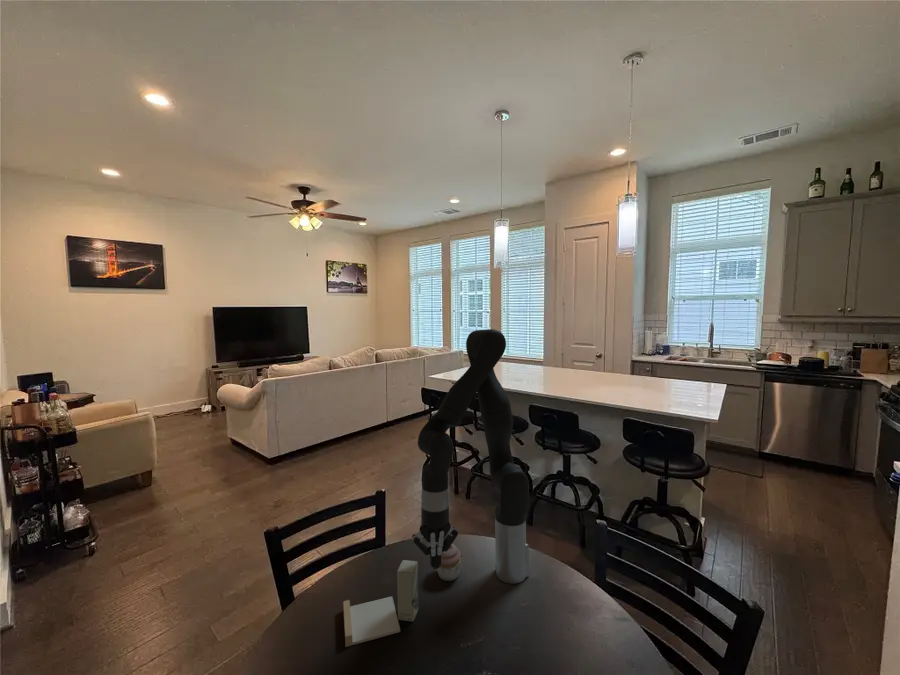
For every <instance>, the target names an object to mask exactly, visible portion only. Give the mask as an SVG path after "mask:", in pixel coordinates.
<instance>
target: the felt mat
mask: <svg viewBox="0 0 900 675" xmlns="http://www.w3.org/2000/svg"><path fill="white" fill-rule="evenodd" d="M342 603H343V605H342V606H343V626H344V641H345V648H348V647H351V646H353V645H354V646H355V645H359V644H362V643H365V642H368V641H372V640H376V639H380V638H383V637H387V636H391V635H394V634H397V633H401V627H400V622H399V620H398V613H397V610H396V606H395V602H394V598H393V595H392V596H387V597H384V598H380V599H375V600H371V601H367V602H364V603H363V602H362V603H359V604H355V605H351V601H350V599H347V600H344V601H342Z"/></svg>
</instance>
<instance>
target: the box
mask: <svg viewBox="0 0 900 675" xmlns="http://www.w3.org/2000/svg"><path fill="white" fill-rule="evenodd" d="M418 563H419V562H418V561H417V560H416V561H415V560H407V559H405V560H404V559H403V560H402V561H401V562H400V565H399V567H398V568H397V571H396V582H397V583H396V588H397V593H396V594H397V595H396V596H397V618H398V621H404V622H405V621H406V622H414V620H415V619H416V616H417V614H418V611H419V605H420V604H419V572H418V571H419V570H418V569H419V568H418Z"/></svg>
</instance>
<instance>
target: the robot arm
mask: <svg viewBox="0 0 900 675" xmlns="http://www.w3.org/2000/svg"><path fill="white" fill-rule="evenodd" d="M465 342H466V343H465V348H466V353H467V357H468V362H469V365H470V366H469V367H467V370H465V372H464V373H463V374H462V375H461V376H460V377H459V379H457V380H456V381H455V382H454V384H453V385H451V387H450V389H449V390H448V392H447V393H446V395H445V396H444V398H443V400H442V402H441V404H440V406H439V408H438V409H437V411H436V412H435V413H434V414H433V415H432V416H431V418H430V419H429V420H428V421H427V422H426V423H425V424H424V426H423V427H422V428H421V430H420V432H419V434H418V437H417V446H418V449H419V451H421V452H422V453H424V454H426V455H428V456H429V462H428V463H426V464H425V465H424V466H423V467H422V472H421V473H422V474H421V486H422V487H421V493H420V494H421V496H420V503H421V504H420V505H421V506H420V507H421V508H420V509H421V510H420V511H421V512H420V516H421V520H420V522H421V524H420V526H419V531H417V533H416V534H415V533H413V534H412V535H411V539H412V541H413V543H414V544H415V545H416V547H418V549H420V551H421V552H422V553H423V554H424V556H429V565H430V566H431V568H433V570H437V569H438V568H439V566H441V554H442V552H444V551H445V552H446V551H448V549H449V548H450V546H451V545H452V544H454V541H455V540H456V539H457V537H458V535H459V531H458V530H457V529H456V527H455V526H453V527H452V524H451V523H450V493H449V492H450V491H449V471H450V467H451V462H452V457H453V453H454V443H453V439H452V437H451V436H450V435H449V434H448V433H447V431H448V430H449V429H450V428H455V427H458V426H459V425H461V424H460V423H462V420H463V418H464V417H465V414H466V412H467V410H468V409H469V406H470V404H471V403H472V401H473V399H474V397H475V395H476V394H477V398H478V404H479V411H480V416H481V422H482V425H483V426H482V427H483V431H484V436H485V440H486V445H487V450H488V451H487V452H488V461H489V473H490V474H489V475H490V476H489V477H490V481H491V483H492V486H493V488H495V489H496V491H498V492H499V495H500V500H499V502H500V503H499V504H498V505H497V506H496V507H495V509H494V530H495V534H494V535H495V537H494V539H495V542H494V544H495V575H496V577H497V578H498V579H499V580H500V581H501V582H504V583H506V584H511V585H512V584H519V583H522V582H523V581H525V579H526V578H528V577H530V545H529V544H528V543H527V526H526V524H527V523H526V520H527V518H526V516H527V513H528V511H529V504H530V503H529V502H530V501H529V500H530V499H529V498H530V497H529V495H530V483H529V477H528V475H527V474H526V473H525V472H524V471H523V470H522V469H520V468H519V467H517V466H516V465H515V463H514V459H513V456H512V451H511V437H512V432H513V426H514V418H513V412H512V407H511V402H510V398H509V396H508V394H507V392H506V391H505V389H504V388H503V386H502V384H501V382H500V381H499V379H498V377H497V376H496V373H495V370H494V369H495V367H496V365H497V364H498V363H499V361H500V360H501V358H502V357H503V355H504V353H505V351H506V349H507V341H506V338H505V335H504V334H503V332H502V331H500V330H498V329H494V328H492V329H491V328H489V329H476V330H473V331H471V332H470V333H469V334H468V336H467V339H466V341H465ZM423 538H424V540H425V541H426V542H427V543H428V546H427V545H426V544H425V543H424V541H423Z"/></svg>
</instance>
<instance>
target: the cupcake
mask: <svg viewBox="0 0 900 675" xmlns="http://www.w3.org/2000/svg"><path fill="white" fill-rule="evenodd" d="M463 557H464V556H463V554H461V552H460V550H459V548H458V547H457V546H456V545H455V544H454V543H452V545H451V546H450V548H449V549H448V551H446V552H445V551H444V552H442V554H441V566H439V568H438V569H436V571H437V573H438V577H439V578H440V579H441V580H442V581H445V582H453V581H455V580H456V579H458V577H459V576H460V572H461V568H462V565H463V563H464V561H465V559H464V558H463Z"/></svg>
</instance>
